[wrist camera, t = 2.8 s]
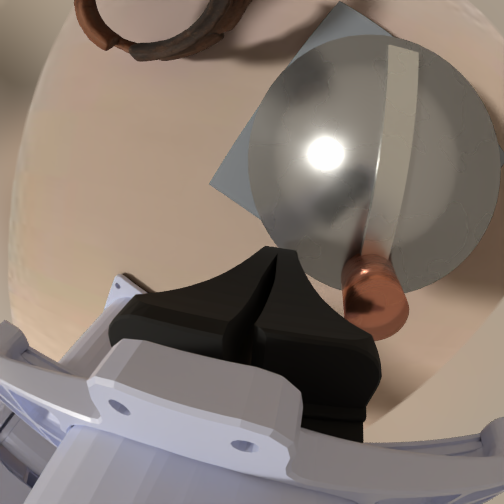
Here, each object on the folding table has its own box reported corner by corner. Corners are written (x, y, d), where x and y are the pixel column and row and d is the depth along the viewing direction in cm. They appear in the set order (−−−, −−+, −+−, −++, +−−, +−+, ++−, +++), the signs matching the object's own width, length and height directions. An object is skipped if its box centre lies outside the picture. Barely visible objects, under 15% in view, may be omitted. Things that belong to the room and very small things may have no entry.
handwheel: (380, 299, 15) (397, 374, 10) (219, 182, 14) (168, 221, 9) (502, 158, 10) (569, 186, 5) (343, 10, 9) (357, -47, 4)
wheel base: (376, 297, 17) (379, 309, 16) (214, 180, 16) (206, 185, 15) (498, 154, 11) (510, 158, 10) (338, 7, 10) (340, -2, 9)
